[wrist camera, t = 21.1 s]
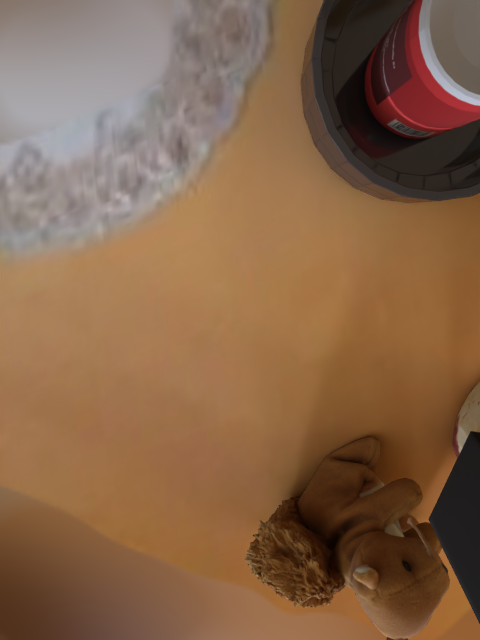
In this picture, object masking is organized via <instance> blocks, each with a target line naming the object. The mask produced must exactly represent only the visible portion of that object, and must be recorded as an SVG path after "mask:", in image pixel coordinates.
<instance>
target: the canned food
mask: <svg viewBox="0 0 480 640" xmlns="http://www.w3.org/2000/svg"><path fill="white" fill-rule="evenodd" d="M365 94H366V100H367V103H368V106H369V108H370V111H371V113H372V114H373V116H374V117H375V119H376V120H377V121H378V122H379V123H380V124H381V125H382V126H383V127H384V128H386V129H387V130H389V131H391V132H392V133H394V134H397V135H399V136H402V137H406V138H413V139H422V138H429V137H433V136H437V135H440V134H442V133H445V132H448V131H450V130H453V129H455V128H458V127H460V126H463V125H466V124H468V123H471V122H473V121H476V120H478V119H480V0H411V1H410V3H409V4H408V5H407V6H406V8H405V9H404V10H403V11H402V13H401V14H400V15H399V17H398V18H397V19H396V20H395V22H394V23H393V24H392V25H391V27H390V28H389V29H388V31H387V32H386V33H385V34H384V36H383V37H382V38H381V39H380V41H379V42H378V44H377V45H376V47H375V48H374V50H373V52H372V54H371V56H370V59H369V61H368V64H367V68H366V73H365Z"/></svg>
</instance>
